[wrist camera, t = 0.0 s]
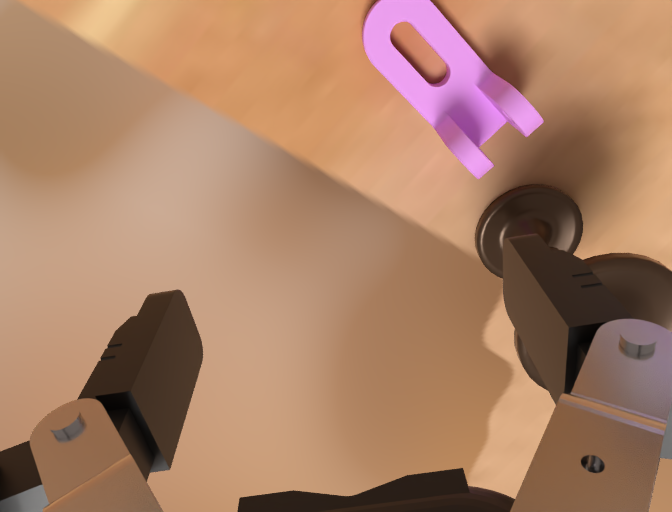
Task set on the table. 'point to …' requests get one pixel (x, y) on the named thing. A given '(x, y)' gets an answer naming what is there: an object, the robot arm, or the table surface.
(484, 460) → the table surface
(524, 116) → the bracket
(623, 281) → the candlestick
